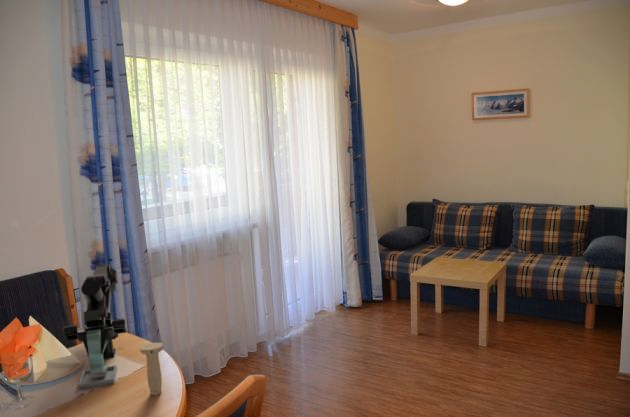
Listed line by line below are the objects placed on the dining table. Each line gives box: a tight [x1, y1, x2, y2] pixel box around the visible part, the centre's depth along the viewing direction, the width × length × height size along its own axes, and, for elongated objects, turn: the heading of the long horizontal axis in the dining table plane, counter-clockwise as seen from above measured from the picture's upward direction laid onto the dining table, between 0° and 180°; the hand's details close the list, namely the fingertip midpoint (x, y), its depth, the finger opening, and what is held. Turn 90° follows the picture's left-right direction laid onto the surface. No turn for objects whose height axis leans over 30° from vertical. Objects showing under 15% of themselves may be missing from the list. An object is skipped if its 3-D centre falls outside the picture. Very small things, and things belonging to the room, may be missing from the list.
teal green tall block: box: [87, 329, 108, 378], centre depth 161 cm, size 5×5×14 cm
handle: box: [139, 342, 164, 396], centre depth 151 cm, size 5×6×15 cm
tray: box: [77, 364, 118, 390], centre depth 162 cm, size 10×10×2 cm
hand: (95, 354), depth 160 cm, fingers closed on teal green tall block, 4 cm apart
